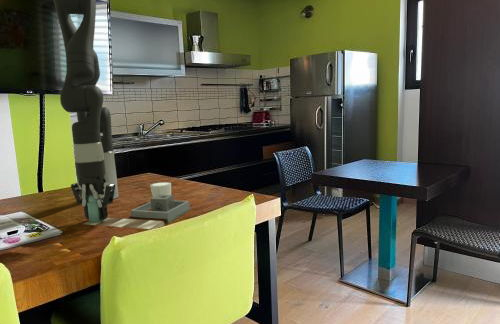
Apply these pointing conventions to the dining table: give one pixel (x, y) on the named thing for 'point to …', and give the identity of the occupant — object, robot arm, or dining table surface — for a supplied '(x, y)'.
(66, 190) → the dining table surface
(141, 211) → the tray
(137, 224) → the track
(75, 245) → the dining table surface
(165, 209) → the dice cube
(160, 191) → the shot glass
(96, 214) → the pawn
